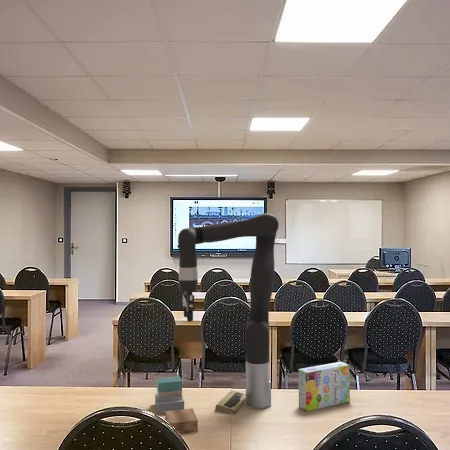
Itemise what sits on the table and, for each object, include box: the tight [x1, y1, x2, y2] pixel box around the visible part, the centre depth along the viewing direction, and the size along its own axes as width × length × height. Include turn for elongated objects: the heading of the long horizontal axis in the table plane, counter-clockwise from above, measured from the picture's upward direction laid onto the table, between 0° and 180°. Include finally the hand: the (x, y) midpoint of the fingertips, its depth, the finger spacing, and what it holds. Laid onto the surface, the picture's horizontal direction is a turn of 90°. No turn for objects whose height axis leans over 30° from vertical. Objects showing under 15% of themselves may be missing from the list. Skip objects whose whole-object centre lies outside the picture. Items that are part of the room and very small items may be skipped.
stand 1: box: [154, 393, 185, 416], centre depth 172 cm, size 10×10×4 cm
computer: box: [214, 390, 246, 415], centre depth 175 cm, size 16×8×3 cm, turn 158°
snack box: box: [297, 361, 351, 412], centre depth 175 cm, size 21×6×15 cm, turn 115°
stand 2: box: [164, 408, 199, 435], centre depth 156 cm, size 10×10×4 cm
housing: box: [156, 375, 183, 402], centre depth 172 cm, size 9×6×7 cm, turn 104°
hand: (188, 319), depth 178 cm, fingers open, 8 cm apart
